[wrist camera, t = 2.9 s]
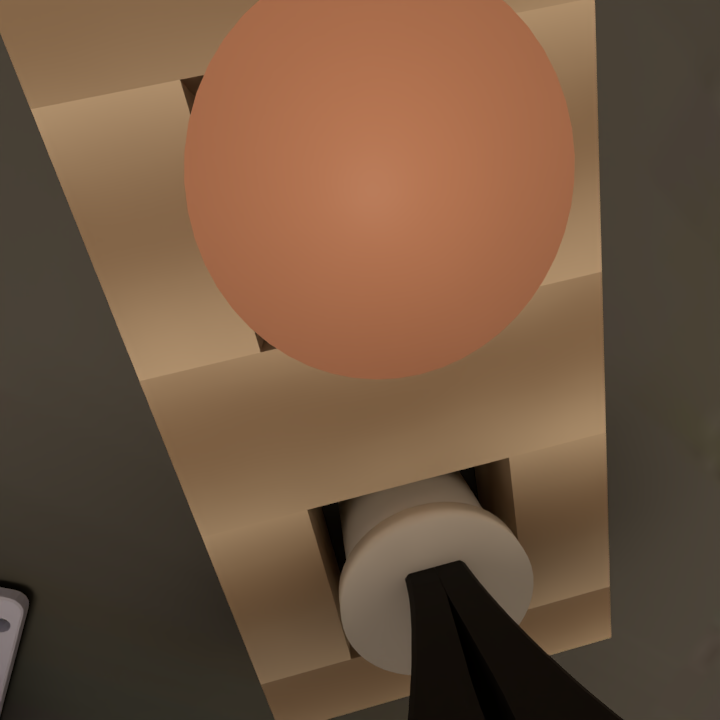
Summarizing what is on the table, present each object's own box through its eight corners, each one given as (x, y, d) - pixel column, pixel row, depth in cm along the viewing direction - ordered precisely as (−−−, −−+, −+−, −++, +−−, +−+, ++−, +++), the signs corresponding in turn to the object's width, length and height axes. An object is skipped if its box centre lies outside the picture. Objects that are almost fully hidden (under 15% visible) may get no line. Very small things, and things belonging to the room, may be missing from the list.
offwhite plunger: (479, 538, 15) (540, 645, 11) (346, 574, 15) (363, 696, 11) (462, 417, 14) (525, 495, 10) (313, 454, 13) (320, 550, 10)
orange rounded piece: (474, 288, 10) (582, 334, 6) (268, 335, 10) (251, 415, 6) (444, 46, 8) (565, -84, 5) (199, 95, 8) (118, -1, 4)
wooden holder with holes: (556, 563, 16) (611, 637, 14) (283, 638, 16) (280, 732, 13) (510, -50, 10) (590, -146, 8) (66, 35, 10) (-28, -37, 7)
